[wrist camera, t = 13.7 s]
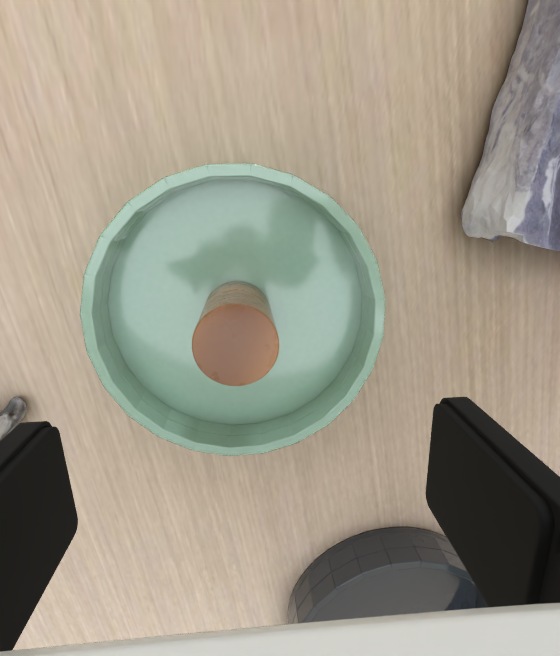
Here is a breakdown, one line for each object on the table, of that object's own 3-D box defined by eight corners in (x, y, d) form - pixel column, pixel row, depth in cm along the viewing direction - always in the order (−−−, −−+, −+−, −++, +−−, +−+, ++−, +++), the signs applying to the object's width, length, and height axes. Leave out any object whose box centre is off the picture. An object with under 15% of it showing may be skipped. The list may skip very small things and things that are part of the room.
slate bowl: (517, 565, 33) (545, 601, 30) (410, 694, 36) (426, 739, 33) (353, 498, 29) (366, 531, 26) (252, 647, 33) (253, 692, 30)
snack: (282, 299, 24) (295, 328, 18) (252, 355, 25) (254, 399, 19) (222, 268, 23) (215, 288, 17) (192, 327, 24) (176, 365, 18)
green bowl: (416, 255, 24) (441, 262, 21) (290, 461, 28) (295, 492, 25) (170, 110, 21) (158, 94, 18) (61, 366, 24) (35, 388, 21)
